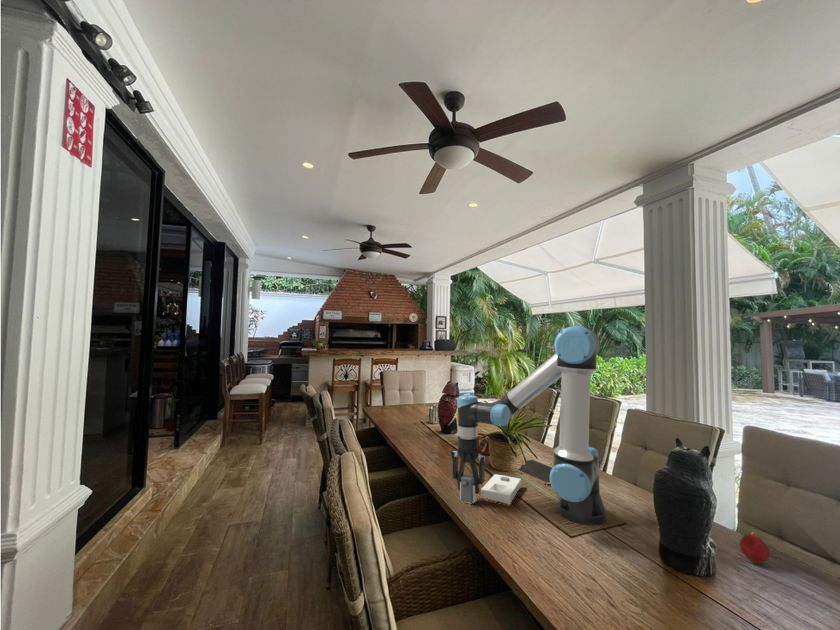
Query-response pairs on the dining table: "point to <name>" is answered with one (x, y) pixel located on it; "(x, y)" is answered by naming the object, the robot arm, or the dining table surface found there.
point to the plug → (467, 488)
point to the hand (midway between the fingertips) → (468, 500)
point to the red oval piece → (754, 548)
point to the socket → (501, 488)
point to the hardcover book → (537, 470)
